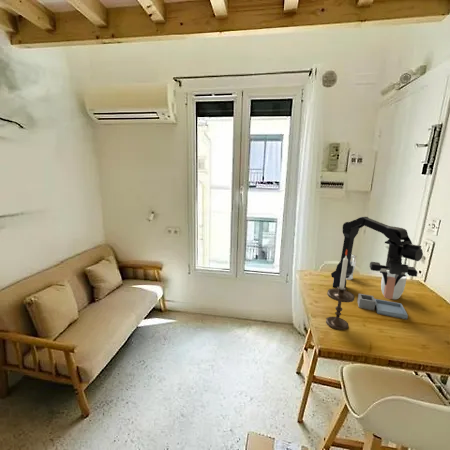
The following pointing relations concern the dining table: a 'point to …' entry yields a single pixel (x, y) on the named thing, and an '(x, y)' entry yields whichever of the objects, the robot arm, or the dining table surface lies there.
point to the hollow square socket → (366, 301)
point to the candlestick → (340, 299)
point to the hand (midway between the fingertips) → (389, 285)
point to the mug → (398, 287)
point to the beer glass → (353, 263)
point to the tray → (390, 309)
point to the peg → (389, 287)
